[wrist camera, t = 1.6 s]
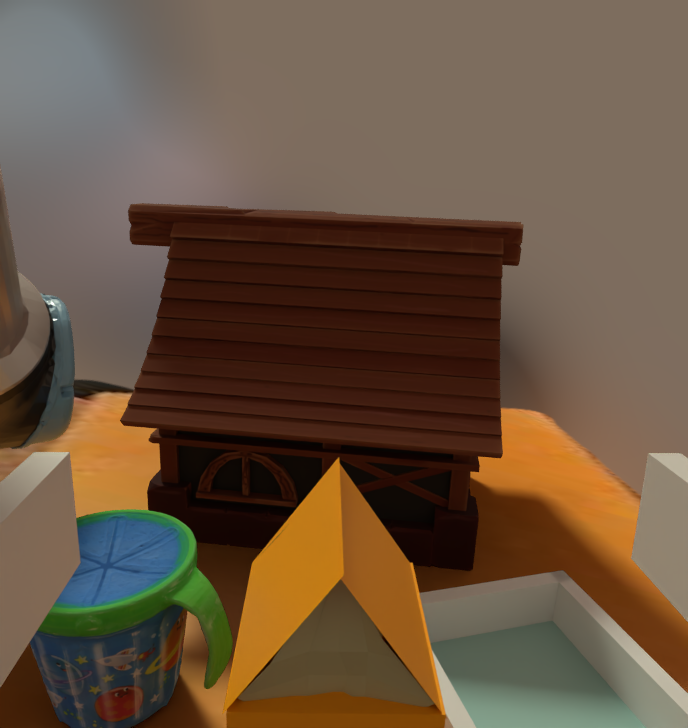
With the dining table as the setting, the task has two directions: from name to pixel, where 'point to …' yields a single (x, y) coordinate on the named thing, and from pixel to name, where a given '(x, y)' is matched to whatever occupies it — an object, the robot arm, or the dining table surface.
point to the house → (323, 369)
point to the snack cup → (127, 621)
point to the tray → (543, 660)
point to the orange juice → (333, 625)
